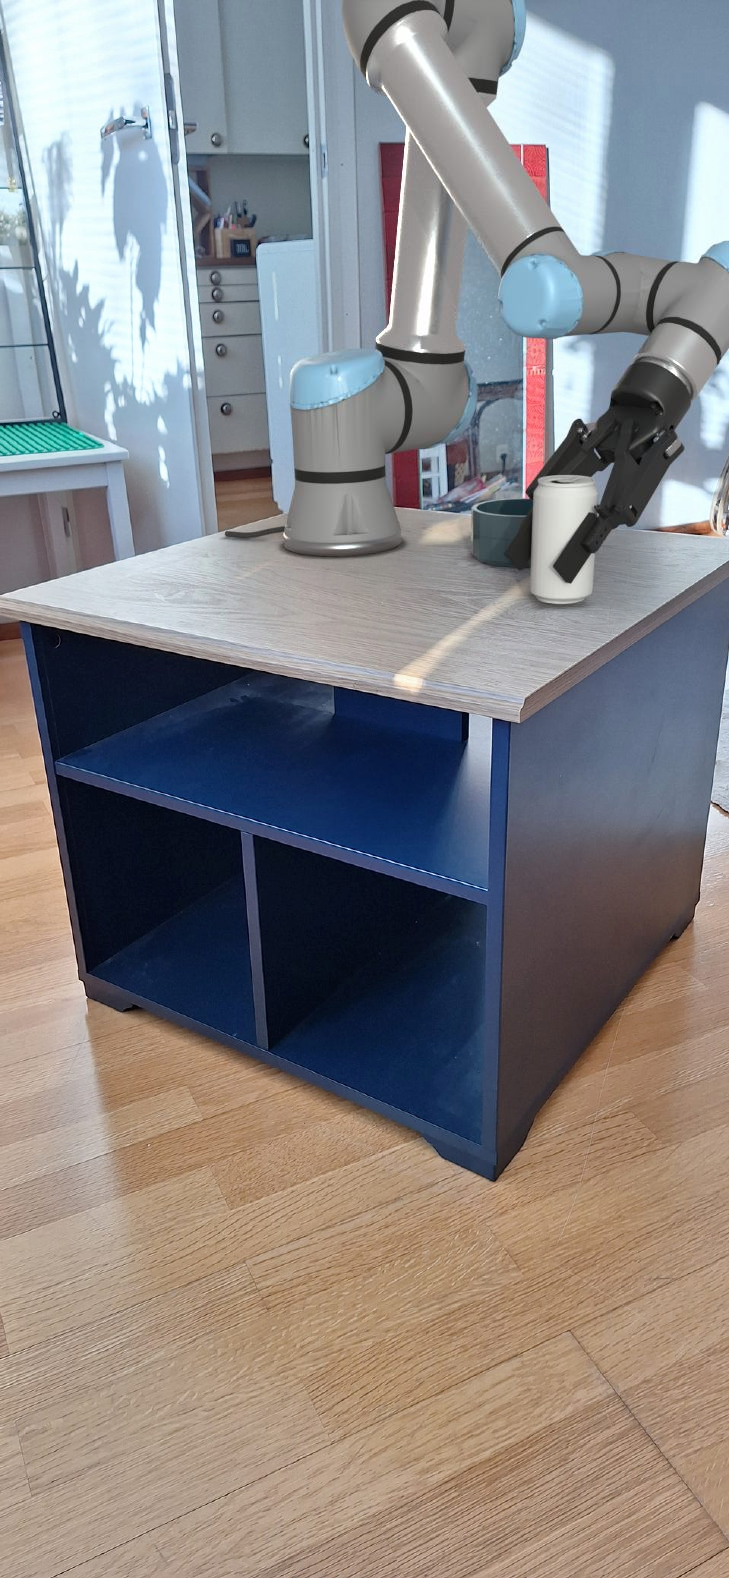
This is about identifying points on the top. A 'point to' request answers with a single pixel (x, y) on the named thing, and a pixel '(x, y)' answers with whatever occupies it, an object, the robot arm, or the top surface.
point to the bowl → (497, 528)
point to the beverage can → (560, 536)
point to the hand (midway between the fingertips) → (536, 568)
